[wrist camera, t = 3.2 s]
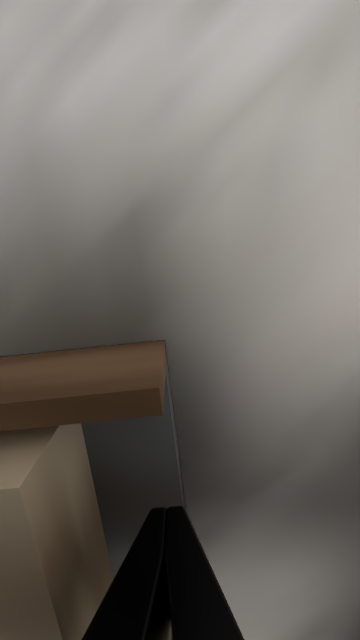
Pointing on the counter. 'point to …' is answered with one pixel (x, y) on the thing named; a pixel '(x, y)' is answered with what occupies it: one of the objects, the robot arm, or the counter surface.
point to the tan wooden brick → (49, 536)
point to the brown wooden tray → (105, 425)
